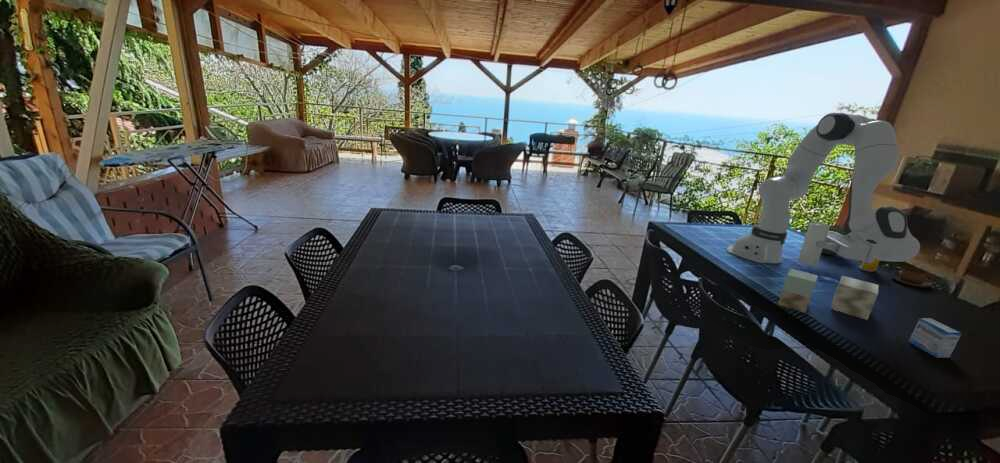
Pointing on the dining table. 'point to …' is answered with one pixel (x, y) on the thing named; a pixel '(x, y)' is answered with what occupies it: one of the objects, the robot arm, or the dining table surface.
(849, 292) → the shelf block
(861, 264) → the beer can
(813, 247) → the canister
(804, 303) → the tower block lower
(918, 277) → the cup and saucer
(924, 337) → the medicine box
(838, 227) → the cantaloupe
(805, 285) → the tower block upper
